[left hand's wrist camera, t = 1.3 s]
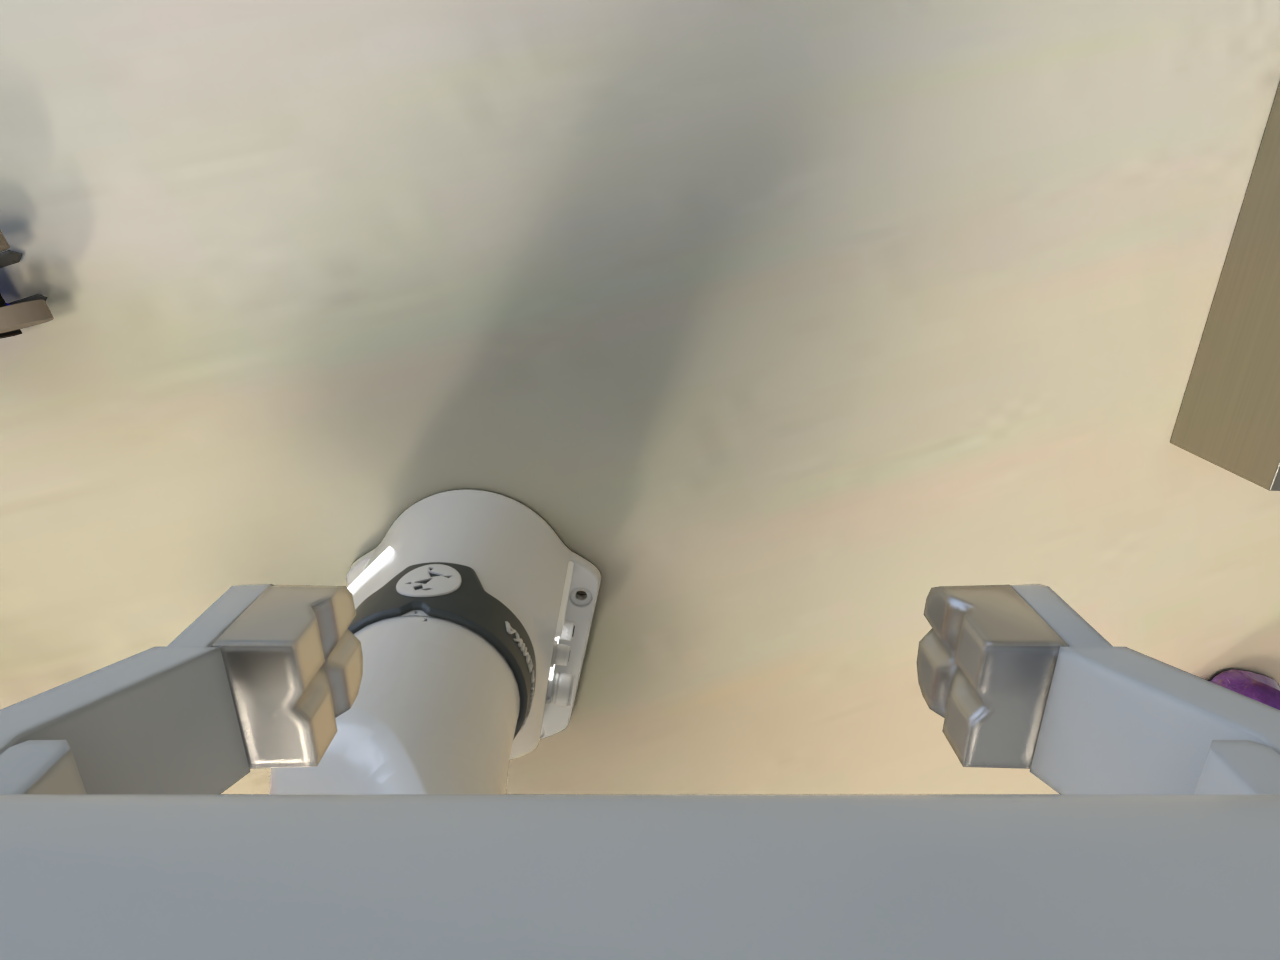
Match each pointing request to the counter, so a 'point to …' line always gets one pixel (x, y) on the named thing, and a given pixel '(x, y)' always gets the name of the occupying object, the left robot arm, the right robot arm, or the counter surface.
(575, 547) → the counter surface
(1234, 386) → the box
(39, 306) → the figurine character
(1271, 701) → the figurine
